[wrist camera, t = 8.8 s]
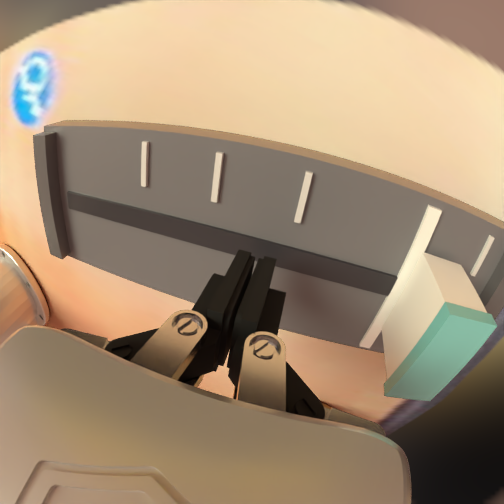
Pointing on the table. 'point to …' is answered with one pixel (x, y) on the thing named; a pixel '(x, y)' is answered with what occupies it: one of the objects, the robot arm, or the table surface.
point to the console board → (255, 221)
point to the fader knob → (432, 329)
